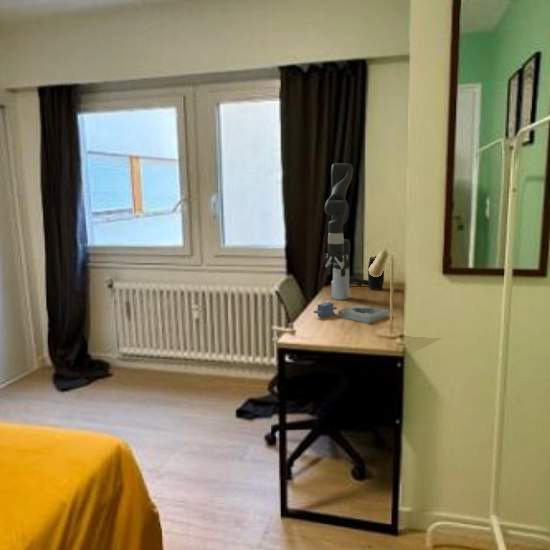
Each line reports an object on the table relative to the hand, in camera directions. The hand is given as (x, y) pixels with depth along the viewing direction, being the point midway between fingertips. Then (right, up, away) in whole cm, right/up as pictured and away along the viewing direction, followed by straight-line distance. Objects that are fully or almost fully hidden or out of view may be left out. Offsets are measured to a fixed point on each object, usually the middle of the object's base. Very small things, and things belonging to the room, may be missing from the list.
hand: (335, 275), depth 243 cm
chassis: (+14, -20, +1) cm, 24 cm away
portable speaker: (+32, -9, +60) cm, 69 cm away
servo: (-5, -20, +3) cm, 21 cm away
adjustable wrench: (+22, -7, +70) cm, 74 cm away
